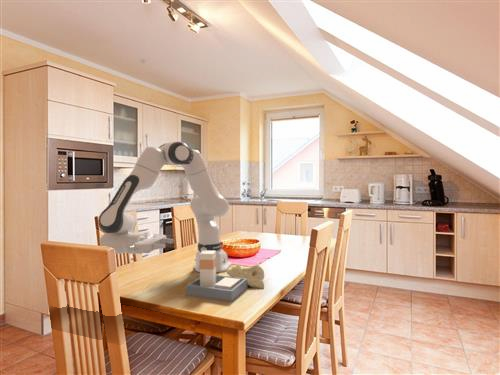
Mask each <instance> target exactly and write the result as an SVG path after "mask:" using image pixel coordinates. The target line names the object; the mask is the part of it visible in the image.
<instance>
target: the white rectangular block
mask: <svg viewBox="0 0 500 375" xmlns="http://www.w3.org/2000/svg"><path fill="white" fill-rule="evenodd" d="M239 283H240V279H236V278H227V277H225V278H223V279H222V280H221V281H219V282H218V283H216V284H215V285H214V288H219V289H226V290H231V289H233V288H234V287H235V286H236V285H238V284H239Z"/></svg>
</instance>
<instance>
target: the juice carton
mask: <svg viewBox="0 0 500 375" xmlns="http://www.w3.org/2000/svg"><path fill="white" fill-rule="evenodd" d="M216 275H217V272H216V251H208V250H203V251H202V252H201V253H200V272H199V277H200V286H204V287H212V288H214V285H215V284H216Z"/></svg>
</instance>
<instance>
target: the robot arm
mask: <svg viewBox="0 0 500 375" xmlns="http://www.w3.org/2000/svg"><path fill="white" fill-rule="evenodd" d="M165 165H166V166H177V165H178V166H182V168H183V170H184V172H185V176H186V178H187V181H188V183H189V186H190V189H191V190H192V192H194V193H195V194H196V196H194V197H193V198H192V199H191V200H190V204H189V206H190V211H191V212H192V213H193V215H194V218H195V220H196V224H197V228H198V229H197V230H198V232H197V233H198V243H197V251H196V253H195V263H194V264H195V265H193V269H194V270H195V271H196V272H198V273H200V253H201V252H202V251H203V250H208V251H216V273H221V272H226V271H227V270H229V269H230V267H231V266H232V264H233V263H232V261H229V260H228V259H229V258H228V253H227V252H226V251H225V250H223V247H222V246H223V245H224V241H221V231H220V230H221V229H220V226H219V224H218V223H217V221H216V218H219V217H220V218H221V217H224V216H226V214H227V213H228V212H229V209H230V205H229V201H228V200H227V199H226V198H225V197H224V196H223V195H222V194H221V192H219V190H218V189H217V187H216V186H215V184H214V182H213V180H212V178H211V176H210V172H209V170H208V166H207V164H206V161H205V159H204V157H203V155H202V154H201V152H200V151H199V150H197V149H191V147H189V145H188V144H186V143H185V142H183V141H170V142H167V143H163V144H161V145H160V146H159V147H155V146H148V147H146V148H145V149H144V150H142V153H141V155H140V156H139V157H138V159H137V161H136V163H135V165H134V167H133V169H132V171H131V172H130V174H129V175H128V176H127V177H126V178H125V179H124V180H123V182H122V183H121V185H120V186H119V188H118V190H117V191H116V193H115V195H114V196H113V198H112V199H111V200H110V203H109V204H108V205H107V207H105V209H104V210H102V211H101V213H100V214H99V216H98V219H97V220H98V222H97V223H98V227H99V229H100V230H101V231H102V232H103V233H104V234H102V235H101V236H100V238H99V245H100V247H101V246H107V247H112V248H114V250H115V254H117V255H118V254H119V255H121V254H131V255H138V254H139V255H142V254H150V253H151V252H153V251H154V250H155V251H156V250H163V249H166V246H167V245H166V244H174V238H167V235H166V234H160V233H159V234H158V233H150V232H135V230H136V224H137V221H136V218H135V217H134V215H132V214H131V213H128V212H126V211H125V209H126V208H127V206H128V205H129V203H130V201H131V199H132V198H133V196H134V195H135V194H136V193H137V192H140V191H142V190H147V189H150V188H152V187H153V186H154V184H155V182H156V181H157V179H158V178H159V175H160V172H161V170H162V168H164V166H165Z"/></svg>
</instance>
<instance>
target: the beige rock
mask: <svg viewBox="0 0 500 375" xmlns="http://www.w3.org/2000/svg"><path fill="white" fill-rule="evenodd" d="M225 272H226V274H227V276H229V277H238V278H246V279H248V287H250V288H252V289H253V288H254V289H255V288H256V289H264V288H265V283H264V281H263V280H264V279H265V272H264V269H263V268H262V267H261V266H260V265H259V264H256V265H253V266H251V267H241V265H240V264H238V265H236V266H232V267H231V268H228V269H227V270H226V271H225Z"/></svg>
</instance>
